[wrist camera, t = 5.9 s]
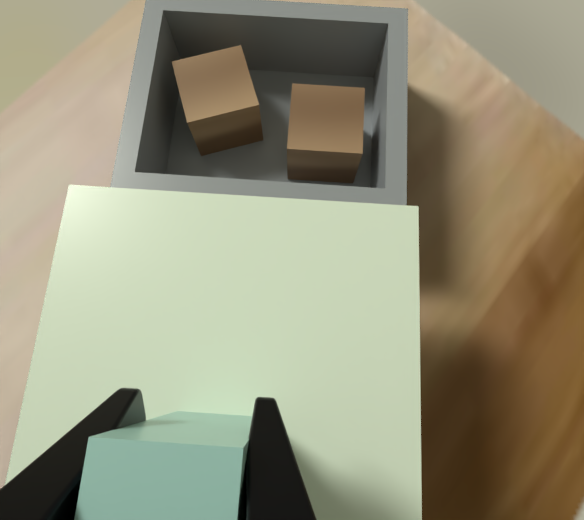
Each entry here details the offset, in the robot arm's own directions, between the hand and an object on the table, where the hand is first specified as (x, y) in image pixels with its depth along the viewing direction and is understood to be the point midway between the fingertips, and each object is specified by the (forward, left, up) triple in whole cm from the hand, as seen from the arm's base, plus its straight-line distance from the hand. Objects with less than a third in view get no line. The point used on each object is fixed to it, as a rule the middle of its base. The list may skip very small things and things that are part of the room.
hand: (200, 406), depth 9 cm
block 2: (+11, -3, -10) cm, 15 cm away
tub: (+11, 0, -9) cm, 15 cm away
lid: (+2, 0, -4) cm, 4 cm away
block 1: (+12, +2, -10) cm, 16 cm away
